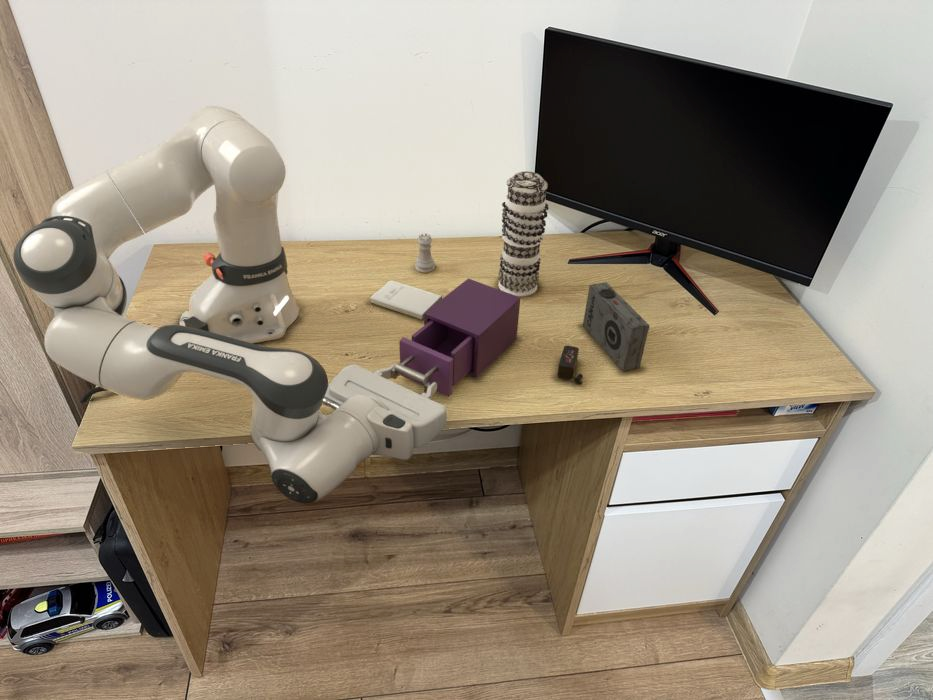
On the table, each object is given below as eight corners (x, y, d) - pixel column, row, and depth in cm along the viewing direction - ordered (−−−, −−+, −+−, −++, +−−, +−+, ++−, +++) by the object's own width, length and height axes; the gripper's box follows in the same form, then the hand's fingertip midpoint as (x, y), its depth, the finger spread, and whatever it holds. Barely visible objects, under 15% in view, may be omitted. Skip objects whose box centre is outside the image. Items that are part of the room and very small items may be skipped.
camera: (579, 323, 140) (586, 281, 134) (596, 320, 142) (604, 277, 136) (621, 372, 128) (631, 328, 122) (640, 368, 130) (650, 324, 124)
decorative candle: (535, 300, 147) (547, 189, 131) (492, 293, 148) (499, 182, 133) (542, 278, 154) (555, 170, 138) (501, 271, 155) (510, 164, 140)
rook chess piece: (411, 265, 156) (411, 233, 151) (430, 261, 158) (430, 230, 153) (419, 275, 153) (419, 242, 148) (438, 271, 155) (438, 239, 150)
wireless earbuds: (555, 381, 126) (557, 367, 124) (562, 358, 131) (564, 344, 129) (581, 387, 125) (583, 373, 123) (587, 363, 130) (589, 349, 128)
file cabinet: (476, 378, 126) (478, 335, 120) (423, 355, 130) (423, 313, 125) (516, 339, 136) (520, 297, 130) (466, 319, 140) (468, 278, 135)
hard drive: (422, 321, 139) (370, 303, 144) (442, 301, 145) (391, 285, 149) (422, 314, 138) (369, 296, 143) (442, 295, 144) (391, 278, 148)
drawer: (434, 411, 117) (434, 375, 112) (385, 388, 121) (383, 352, 117) (489, 358, 129) (492, 323, 124) (443, 338, 133) (443, 304, 129)
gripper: (315, 412, 115) (368, 368, 124) (415, 464, 107) (465, 413, 116) (310, 383, 111) (366, 340, 120) (415, 435, 103) (466, 384, 112)
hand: (415, 376), depth 118 cm, fingers closed on drawer, 6 cm apart
